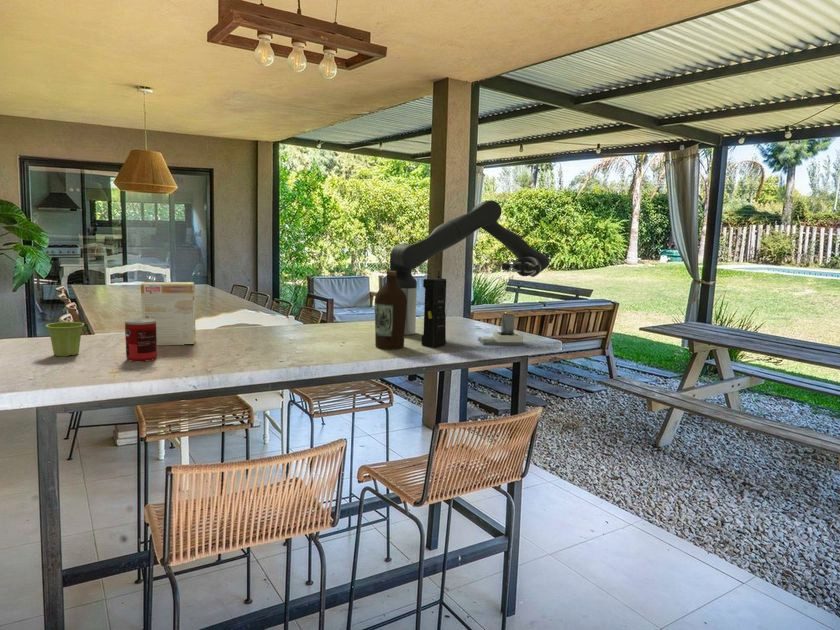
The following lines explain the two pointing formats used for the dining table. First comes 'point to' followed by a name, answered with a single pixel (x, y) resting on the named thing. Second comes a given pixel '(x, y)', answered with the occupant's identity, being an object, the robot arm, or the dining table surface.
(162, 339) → the coffeecake box
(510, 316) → the cell
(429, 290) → the portable radio
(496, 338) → the tester board
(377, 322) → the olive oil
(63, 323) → the plant pot
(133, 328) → the canned food
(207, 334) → the dining table surface
